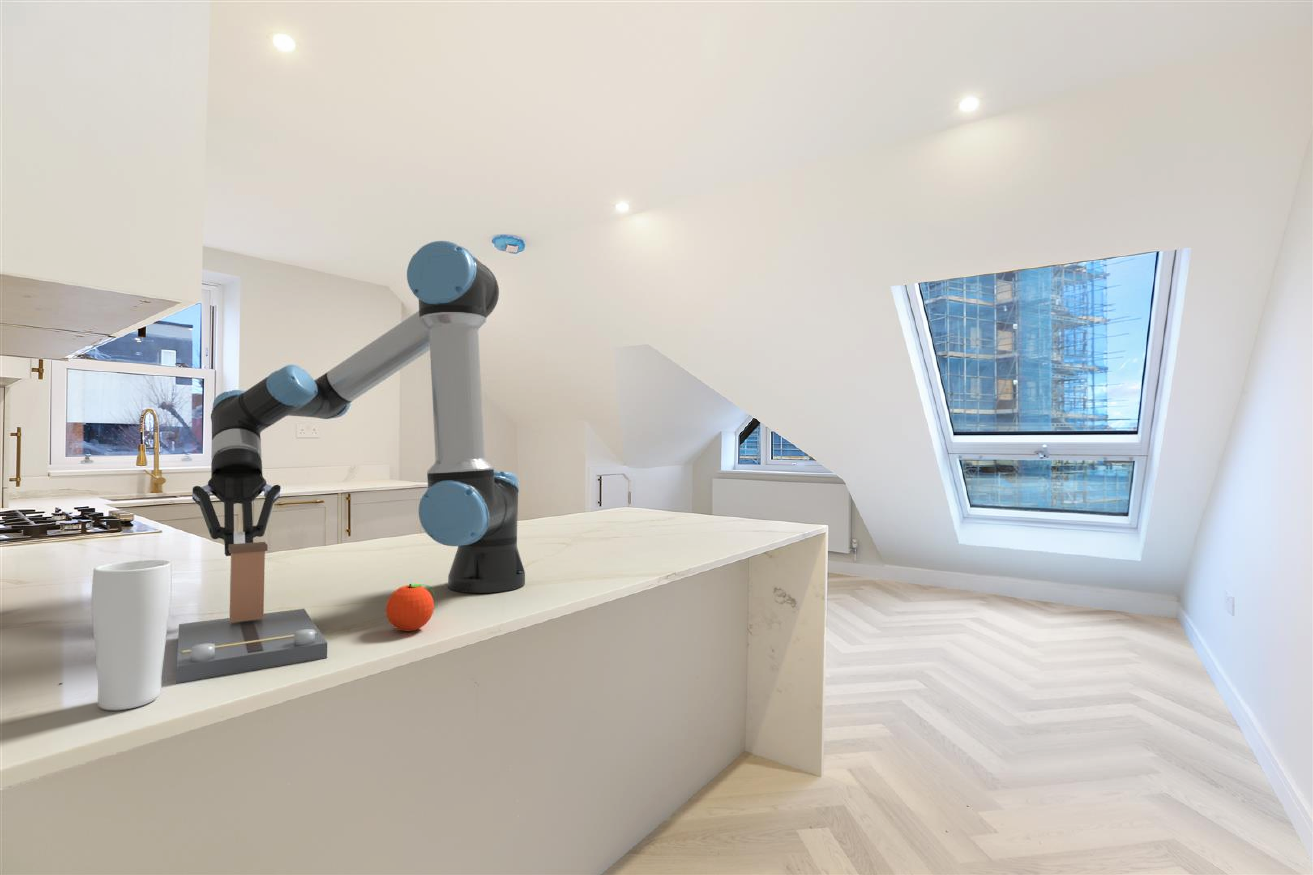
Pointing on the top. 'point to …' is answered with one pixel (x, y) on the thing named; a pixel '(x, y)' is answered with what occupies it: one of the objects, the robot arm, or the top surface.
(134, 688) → the white tumbler
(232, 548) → the fader tab
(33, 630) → the top surface
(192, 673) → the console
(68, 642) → the top surface
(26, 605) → the top surface
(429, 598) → the clementine
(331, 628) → the top surface
